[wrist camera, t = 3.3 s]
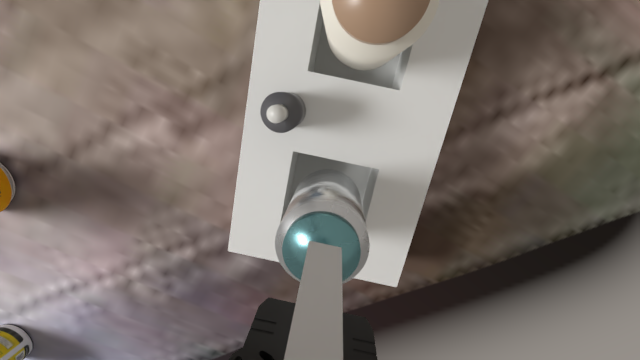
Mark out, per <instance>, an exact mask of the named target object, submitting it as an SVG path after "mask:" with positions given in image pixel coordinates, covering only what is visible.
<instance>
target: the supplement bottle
mask: <svg viewBox="0 0 640 360" xmlns="http://www.w3.org/2000/svg"><path fill="white" fill-rule="evenodd" d="M31 350H32V341H31V339H30V337H29V336H28V335H27V333H26V332H25V331H23V330H22V329H21V328H19V327H17V326H14V325H1V326H0V360H23V359H24V358H25V357H26V356H28V355H29V354H30V352H31Z"/></svg>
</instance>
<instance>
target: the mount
mask: <svg viewBox="0 0 640 360" xmlns="http://www.w3.org/2000/svg"><path fill="white" fill-rule="evenodd" d="M487 3H488V0H439V5H438V8H437V11H436V14H435V16H434V18H433V20H432V22H431V24H430V25H429V27H428V28H427V30H426V31H425V32H424V34H423V35H422V36H421V37H420V38H419V39H418V40H417V41H416V42H415V43H413V44H412V45H411V46H410V47H408V48H407V49H405V50H404V51H403V52H401V53H400V54H398V55H397V56H396V57H394V58H393V59H391V60H390V61H388V62H387V63H386V64H384V65H382V66H381V67H378V68H376V69H372V70H356V69H352V68H350V67H347V66H346V65H344V64H343V63H341V62H340V61H339V60H338V59H337V58H336V57H335V55H334V54H333V52H332V50H331V48H330V46H329V43H328V39H327V34H326V30H325V25H324V20H323V16H322V11H321V6H320V0H260V5H259V13H258V20H257V28H256V36H255V44H254V51H253V59H252V67H251V75H250V82H249V90H248V98H247V106H246V113H245V121H244V129H243V137H242V144H241V152H240V160H239V168H238V176H237V183H236V191H235V199H234V207H233V214H232V222H231V230H230V238H229V245H228V251H230V252H235V253H239V254H244V255H249V256H253V257H258V258H263V259H267V260H272V261H277V262H279V260H278V257H277V254H276V250H275V236H276V232H277V229H278V227H279V225H280V223H281V220H282V218H283V216H284V214H285V212H286V210H287V208H288V205H289V203H290V201H291V199H292V197H293V195H294V193H295V191H296V188H297V186H298V185H299V183H300V182H301V180H302V179H303V178H304V177H306V176H307V175H308V174H310V173H312V172H314V171H317V170H322V169H332V170H336V171H339V172H342V173H344V174H345V175H347V176H348V177H350V178H351V179H352V180H353V182H354V183H355V184H356V186H357V188H358V190H359V193H360V198H361V202H362V207H363V212H364V217H365V222H366V227H367V232H368V236H369V243H370V248H369V255H368V258H367V261H366V263H365V265H364V267H363V268H362V270H361V271H360V272H359V273H358V274H357V275H356V276H355V277H354V278H356V279H361V280H365V281H370V282H375V283H379V284H384V285H388V286H393V287H397V284H398V281H399V278H400V275H401V272H402V269H403V266H404V263H405V259H406V256H407V253H408V250H409V247H410V244H411V241H412V238H413V234H414V231H415V228H416V225H417V222H418V219H419V216H420V213H421V209H422V206H423V203H424V200H425V197H426V194H427V191H428V188H429V184H430V181H431V178H432V175H433V172H434V169H435V166H436V163H437V160H438V156H439V153H440V150H441V147H442V144H443V141H444V138H445V135H446V131H447V128H448V125H449V122H450V119H451V116H452V113H453V110H454V106H455V103H456V100H457V97H458V94H459V91H460V88H461V85H462V81H463V78H464V75H465V72H466V69H467V66H468V63H469V60H470V56H471V53H472V50H473V47H474V44H475V41H476V38H477V35H478V32H479V28H480V25H481V22H482V19H483V16H484V13H485V10H486V7H487ZM275 92H290V93H294V94H297V95H298V96H299V97H301V99H302V100H303V101H304V103H305V107H306V114H305V117H304V119H303V121H302V122H301V123H300V124H299V125H298V126H296V127H295V128H293V129H292V130H290V131H288V132H285V133H277V132H274V131H272V130H270V129H269V128H267V127H266V126H265V124H264V123H263V121H262V118H261V114H260V110H261V105H262V103H263V101H264V99H265V98H266V97H267V96H268V95H270V94H272V93H275Z"/></svg>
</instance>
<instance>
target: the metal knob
mask: <svg viewBox="0 0 640 360" xmlns="http://www.w3.org/2000/svg"><path fill="white" fill-rule="evenodd" d="M309 241H313V242H318V243H323V244H327V245H332V246H337V247H341V248H342V284H343V283H346V282H348V281H349V280H351V279H352V278H354V277H355V276H356V275H357V274H358V273H359V272H360V271H361V270H362V268H363V267H364V265H365V263H366V261H367V258H368V255H369V248H370V243H369V236H368V232H367V227H366V222H365V217H364V212H363V207H362V202H361V198H360V193H359V190H358V188H357V186H356V184H355V183H354V182H353V180H352V179H351V178H350V177H348V176H347V175H345V174H344V173H342V172H339V171H336V170H332V169H322V170H317V171H314V172H312V173H310V174H308V175H307V176H306V177H304V178H303V179H302V180H301V182H300V183H299V185H298V186H297V188H296V191H295V193H294V195H293V197H292V199H291V201H290V203H289V205H288V208H287V210H286V212H285V214H284V216H283V218H282V220H281V223H280V225H279V227H278V229H277V232H276V236H275V250H276V254H277V257H278V260H279V262H280V264H281V265H282V267H283V268H284V269H285V270H286V272H287V273H288V274H289V275H291V276H292V277H293V278H295V279H296V280H298V281H301V277H302V272H303V267H304V262H305V258H306V253H307V248H308V244H309Z"/></svg>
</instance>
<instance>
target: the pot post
mask: <svg viewBox="0 0 640 360" xmlns="http://www.w3.org/2000/svg"><path fill="white" fill-rule="evenodd" d="M260 114H261V118H262V121H263V123H264V124H265V126H266V127H267V128H269V129H270V130H272V131H274V132H277V133H285V132H288V131H290V130H292V129H293V128H295V127H296V126H298V125H299V124H300V123H301V122H302V121H303V119H304V117H305V114H306V107H305V103H304V101H303V100H302V99H301V97H299V96H298V95H297V94H294V93H290V92H275V93H272V94H270V95H268V96H267V97H266V98H265V99H264V101H263V103H262V105H261V110H260Z"/></svg>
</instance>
